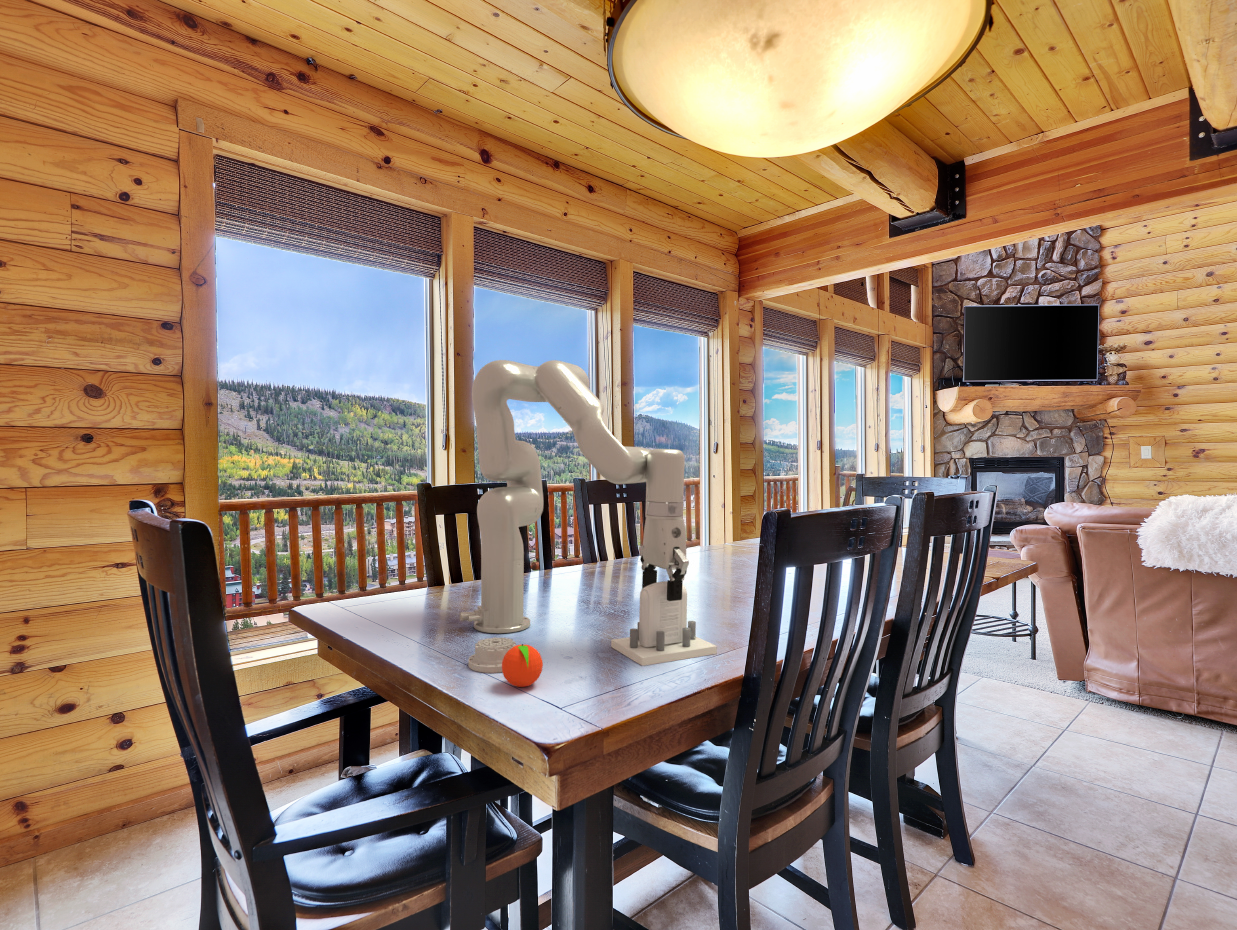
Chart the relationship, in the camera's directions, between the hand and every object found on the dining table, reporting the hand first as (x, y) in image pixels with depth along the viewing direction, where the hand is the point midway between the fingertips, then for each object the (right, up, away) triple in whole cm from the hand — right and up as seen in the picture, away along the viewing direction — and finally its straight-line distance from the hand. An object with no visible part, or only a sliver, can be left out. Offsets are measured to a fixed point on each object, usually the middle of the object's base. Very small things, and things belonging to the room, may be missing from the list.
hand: (661, 594), depth 130 cm
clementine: (-25, -12, -21) cm, 34 cm away
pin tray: (0, -11, 0) cm, 11 cm away
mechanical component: (-32, -12, -9) cm, 35 cm away
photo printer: (0, -10, 0) cm, 10 cm away
